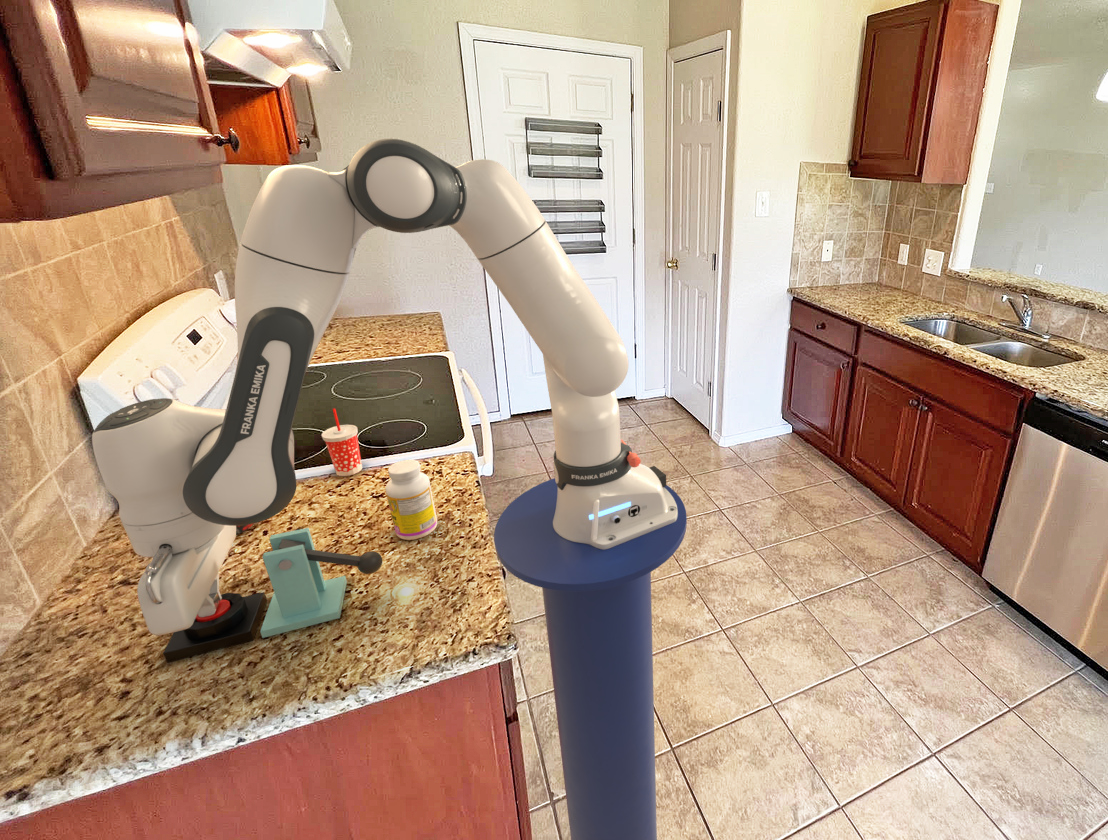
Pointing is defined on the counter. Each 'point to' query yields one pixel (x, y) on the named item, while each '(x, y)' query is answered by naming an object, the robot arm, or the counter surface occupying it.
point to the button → (220, 611)
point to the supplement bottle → (410, 500)
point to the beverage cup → (343, 448)
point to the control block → (219, 628)
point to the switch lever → (340, 557)
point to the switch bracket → (299, 587)
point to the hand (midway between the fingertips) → (211, 608)
